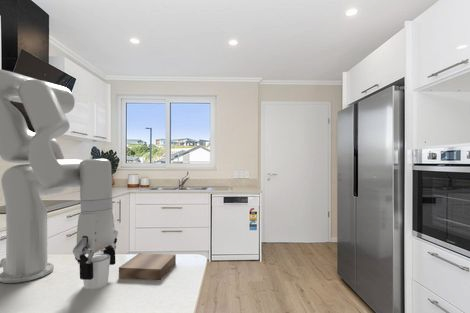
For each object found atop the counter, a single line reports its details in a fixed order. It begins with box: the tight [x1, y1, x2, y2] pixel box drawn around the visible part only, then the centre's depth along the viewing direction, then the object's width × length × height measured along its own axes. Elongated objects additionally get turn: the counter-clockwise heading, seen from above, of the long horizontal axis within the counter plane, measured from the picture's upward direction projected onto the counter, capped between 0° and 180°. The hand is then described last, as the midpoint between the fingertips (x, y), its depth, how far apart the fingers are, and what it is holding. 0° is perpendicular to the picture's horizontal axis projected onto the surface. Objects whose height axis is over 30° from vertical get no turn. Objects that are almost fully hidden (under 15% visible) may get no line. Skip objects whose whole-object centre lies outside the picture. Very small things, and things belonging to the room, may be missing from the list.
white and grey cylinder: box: [82, 253, 111, 290], centre depth 73 cm, size 7×7×7 cm
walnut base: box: [118, 252, 177, 281], centre depth 82 cm, size 12×12×3 cm
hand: (98, 271), depth 73 cm, fingers open, 9 cm apart
